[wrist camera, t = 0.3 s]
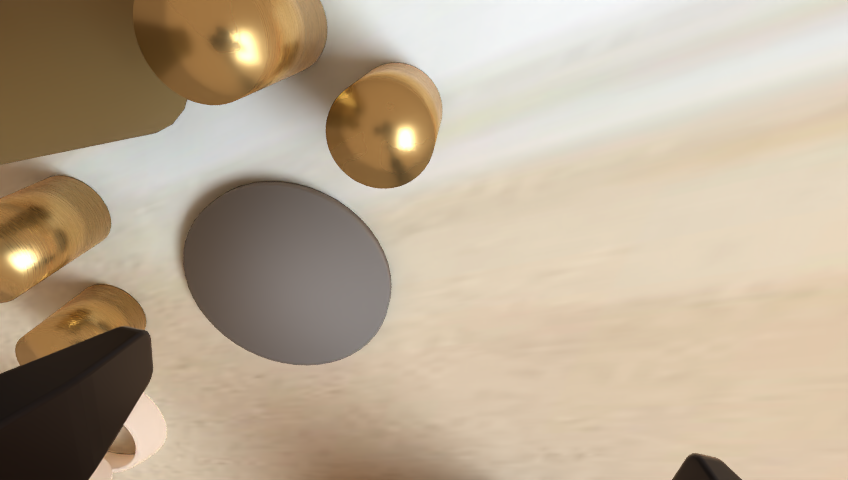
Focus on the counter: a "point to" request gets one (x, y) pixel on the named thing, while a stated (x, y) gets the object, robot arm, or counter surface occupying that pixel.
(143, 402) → the vr controller
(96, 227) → the cylinder
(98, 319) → the cylinder
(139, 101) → the brown pawn piece
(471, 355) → the counter surface
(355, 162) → the cylinder
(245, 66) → the cylinder
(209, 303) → the coaster
